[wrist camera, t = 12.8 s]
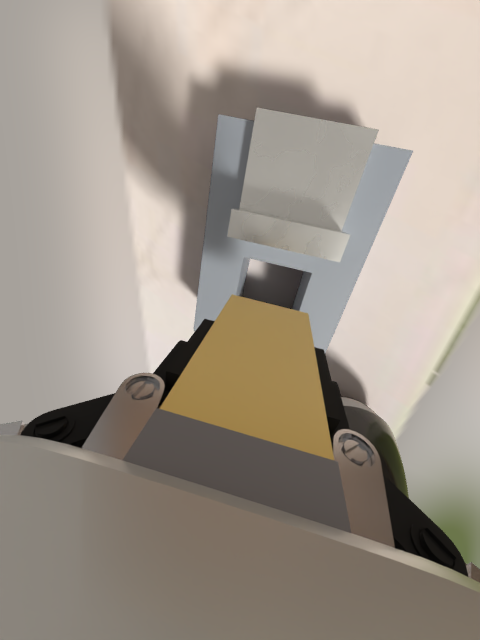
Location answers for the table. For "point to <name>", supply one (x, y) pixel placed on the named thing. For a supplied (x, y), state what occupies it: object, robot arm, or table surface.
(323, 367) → the robot arm
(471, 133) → the table surface
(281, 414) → the plug
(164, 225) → the table surface
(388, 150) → the socket board
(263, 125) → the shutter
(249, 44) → the table surface
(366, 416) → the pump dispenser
